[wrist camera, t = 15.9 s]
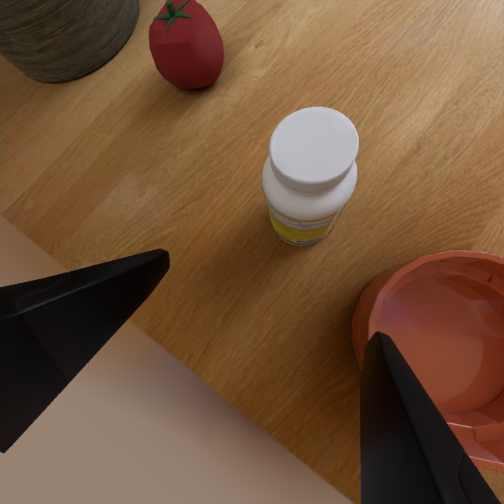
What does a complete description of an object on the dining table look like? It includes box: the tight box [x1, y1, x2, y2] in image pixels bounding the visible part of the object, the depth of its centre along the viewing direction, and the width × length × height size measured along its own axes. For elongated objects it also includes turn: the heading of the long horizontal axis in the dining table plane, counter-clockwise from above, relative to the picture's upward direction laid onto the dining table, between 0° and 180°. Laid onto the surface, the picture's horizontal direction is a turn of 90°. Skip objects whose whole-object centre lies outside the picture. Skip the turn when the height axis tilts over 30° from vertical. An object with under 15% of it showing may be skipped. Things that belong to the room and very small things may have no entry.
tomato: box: [149, 0, 224, 90], centre depth 25 cm, size 8×8×7 cm
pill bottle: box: [262, 107, 359, 246], centre depth 17 cm, size 6×6×11 cm
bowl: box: [352, 250, 504, 473], centre depth 16 cm, size 13×13×4 cm
